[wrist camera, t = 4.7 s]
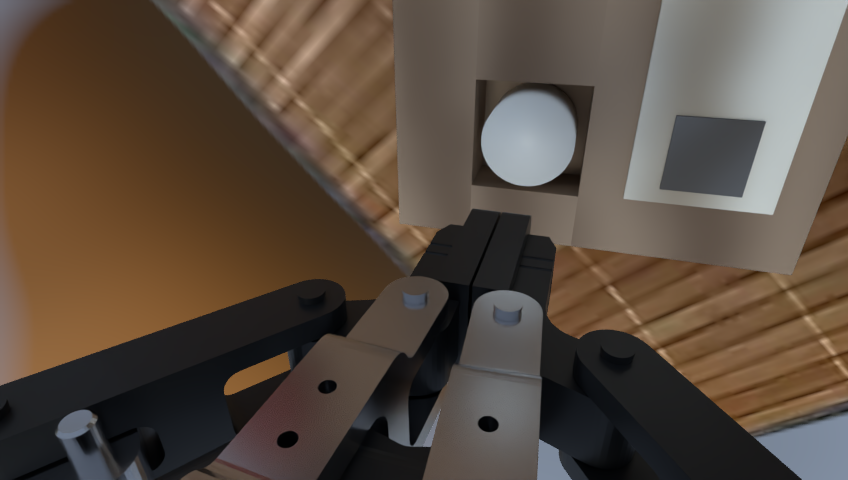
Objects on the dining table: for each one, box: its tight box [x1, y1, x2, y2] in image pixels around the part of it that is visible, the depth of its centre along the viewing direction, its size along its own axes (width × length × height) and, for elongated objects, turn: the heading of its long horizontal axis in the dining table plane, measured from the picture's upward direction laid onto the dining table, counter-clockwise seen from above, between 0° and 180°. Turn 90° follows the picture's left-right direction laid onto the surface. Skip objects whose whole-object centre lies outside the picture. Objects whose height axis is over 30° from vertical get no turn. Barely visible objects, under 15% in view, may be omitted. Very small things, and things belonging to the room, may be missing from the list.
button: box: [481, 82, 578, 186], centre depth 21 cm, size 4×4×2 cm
